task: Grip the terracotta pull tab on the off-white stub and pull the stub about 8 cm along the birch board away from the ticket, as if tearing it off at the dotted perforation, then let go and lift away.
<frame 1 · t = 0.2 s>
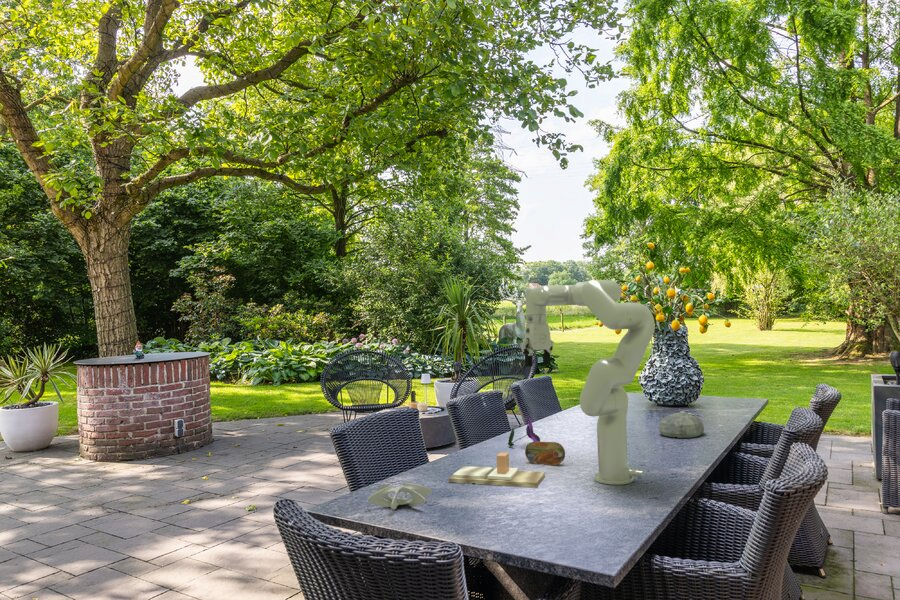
hand: (537, 365, 233), 37 cm above the table, tool pointing down, fingers open, 9 cm apart
decorative stone: (682, 435, 275), on the table
sculpture: (400, 506, 187), on the table
stub: (503, 464, 212), point 5 cm above the table, slide at 0.0 cm
tin: (545, 464, 232), on the table
ticket pad: (488, 479, 213), on the table
flower: (523, 447, 262), on the table
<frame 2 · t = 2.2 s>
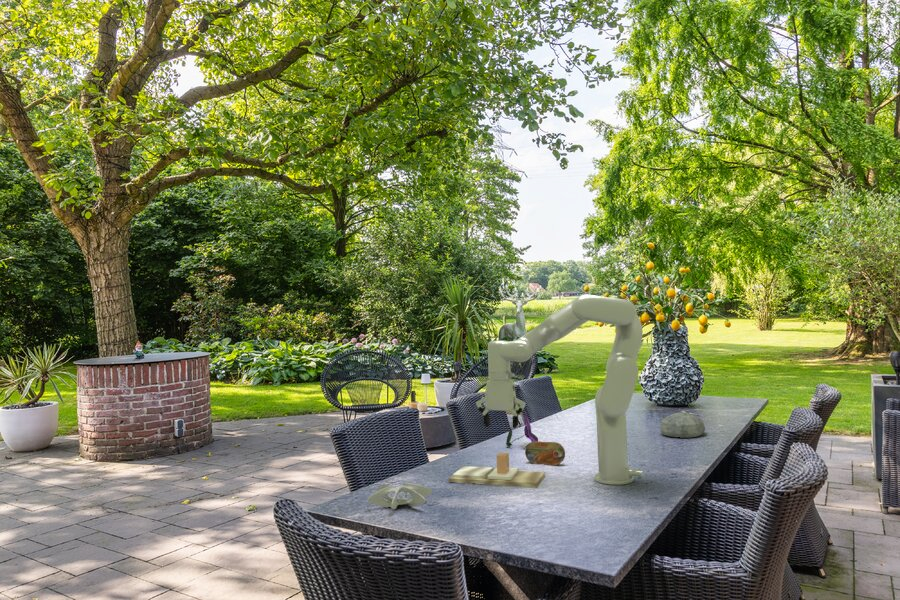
hand: (501, 427, 212), 18 cm above the table, tool pointing down, fingers open, 9 cm apart
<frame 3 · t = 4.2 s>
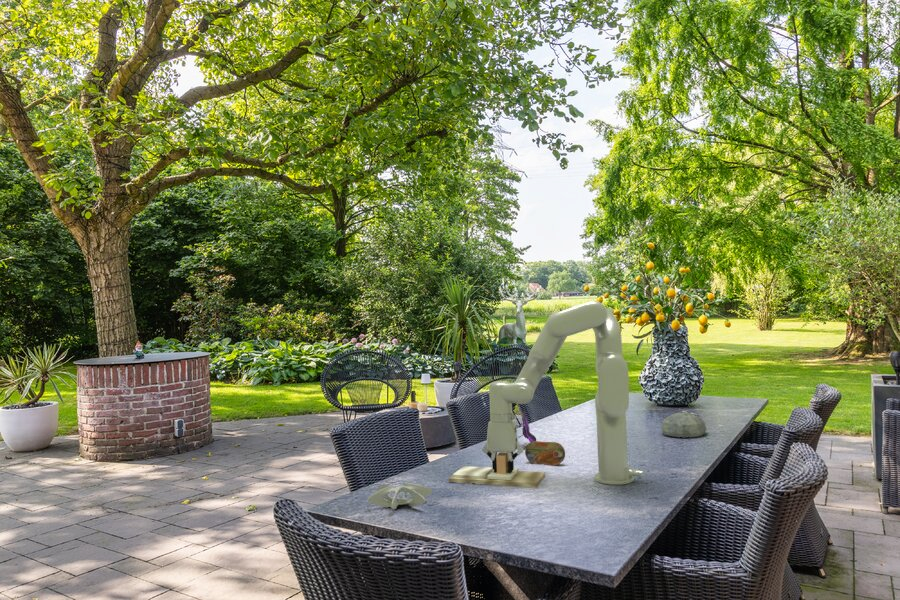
hand: (503, 471, 212), 3 cm above the table, tool pointing down, fingers closed on stub, 4 cm apart
stub: (502, 464, 212), point 5 cm above the table, slide at -0.1 cm, touching gripper
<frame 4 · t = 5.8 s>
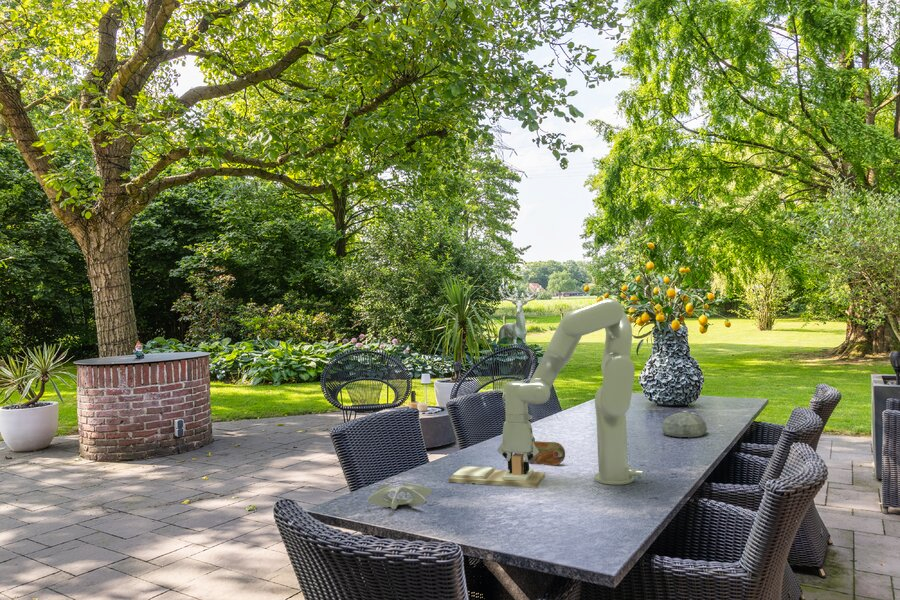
hand: (518, 472, 210), 3 cm above the table, tool pointing down, fingers open, 4 cm apart
stub: (518, 465, 210), point 5 cm above the table, slide at 5.2 cm, touching gripper
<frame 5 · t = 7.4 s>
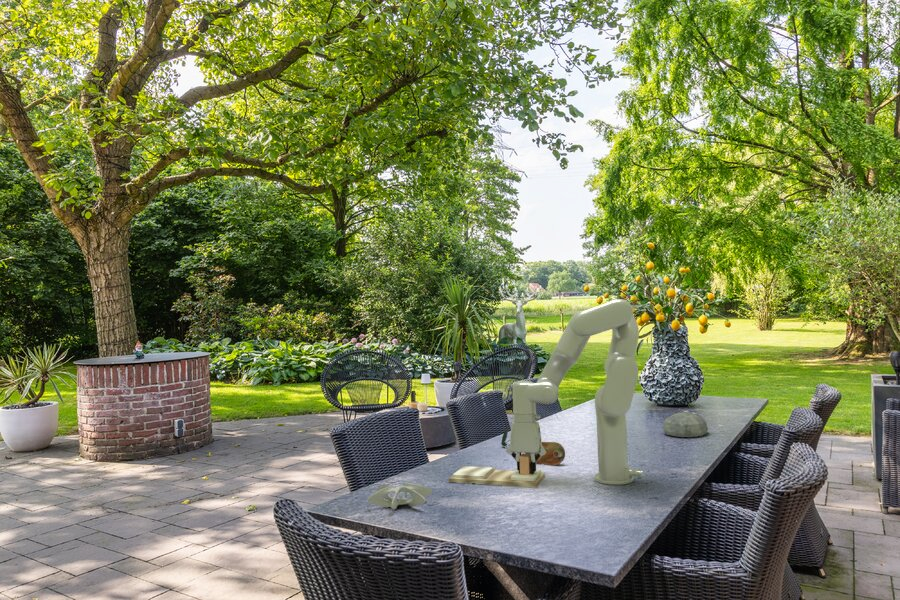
hand: (526, 472, 209), 3 cm above the table, tool pointing down, fingers closed on stub, 3 cm apart
stub: (525, 465, 209), point 5 cm above the table, slide at 7.9 cm, touching gripper
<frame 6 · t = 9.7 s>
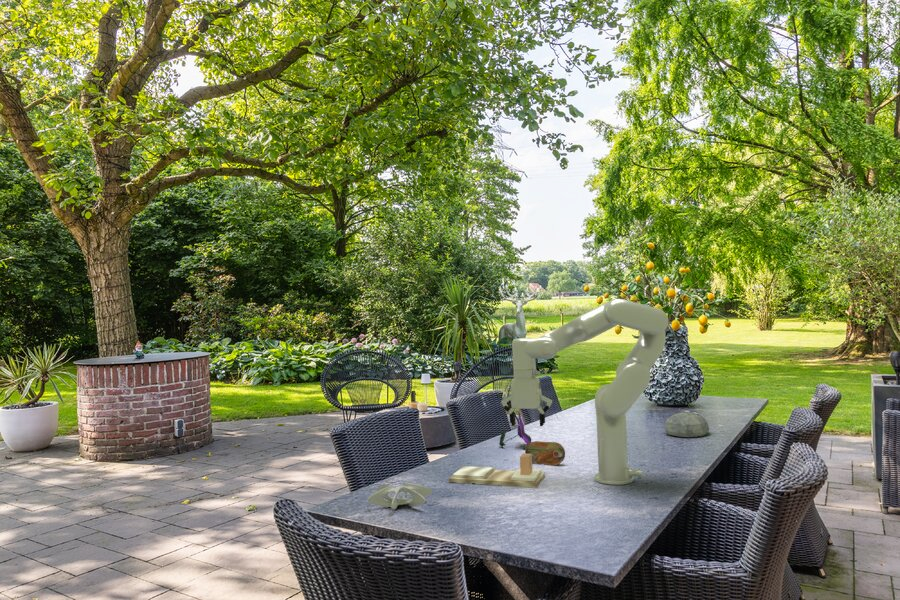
hand: (527, 425, 210), 19 cm above the table, tool pointing down, fingers open, 9 cm apart
stub: (526, 465, 209), point 5 cm above the table, slide at 8.0 cm
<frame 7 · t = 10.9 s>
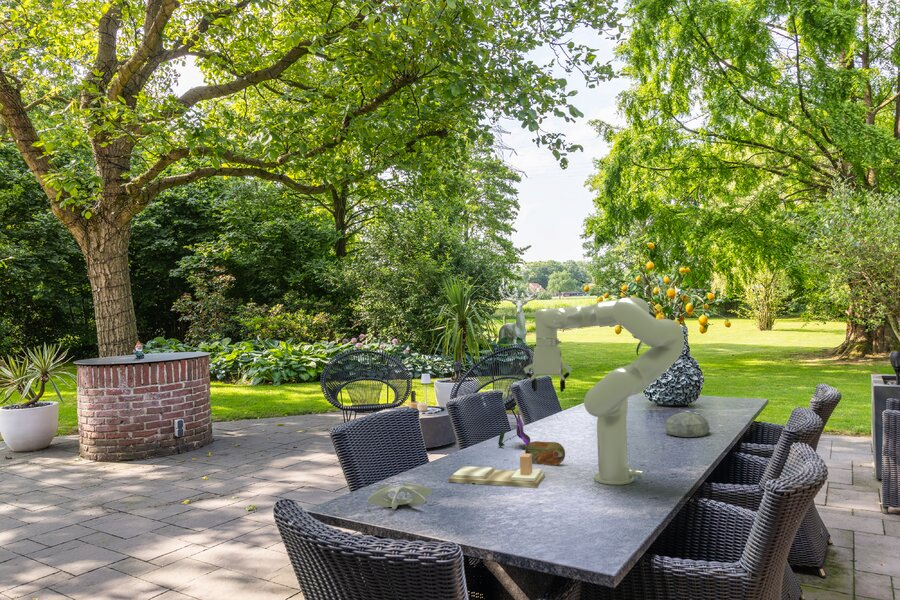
hand: (548, 391, 222), 28 cm above the table, tool pointing down, fingers open, 9 cm apart
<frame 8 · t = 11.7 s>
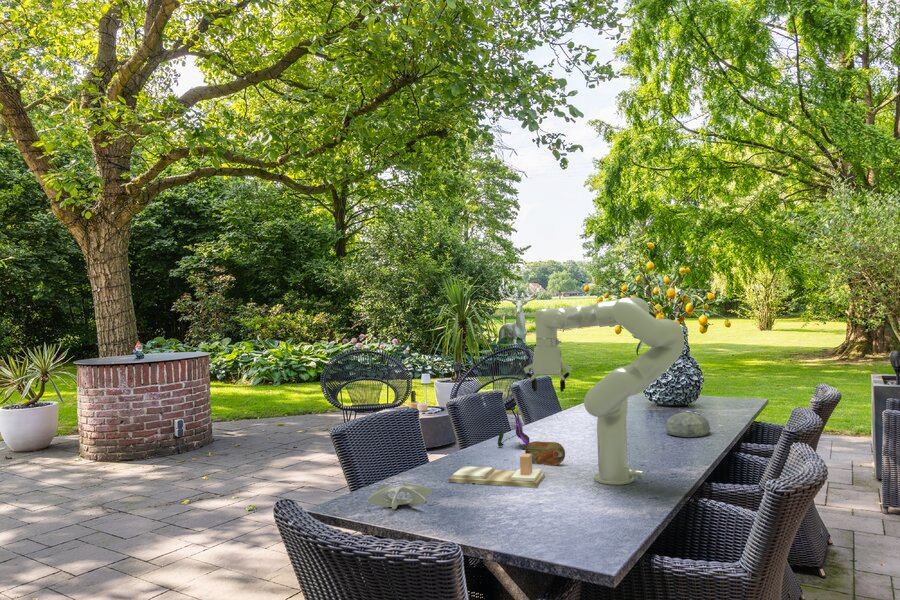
hand: (548, 391, 222), 28 cm above the table, tool pointing down, fingers open, 9 cm apart
at the end: stub slide at 8.0 cm; the gripper is holding nothing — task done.
